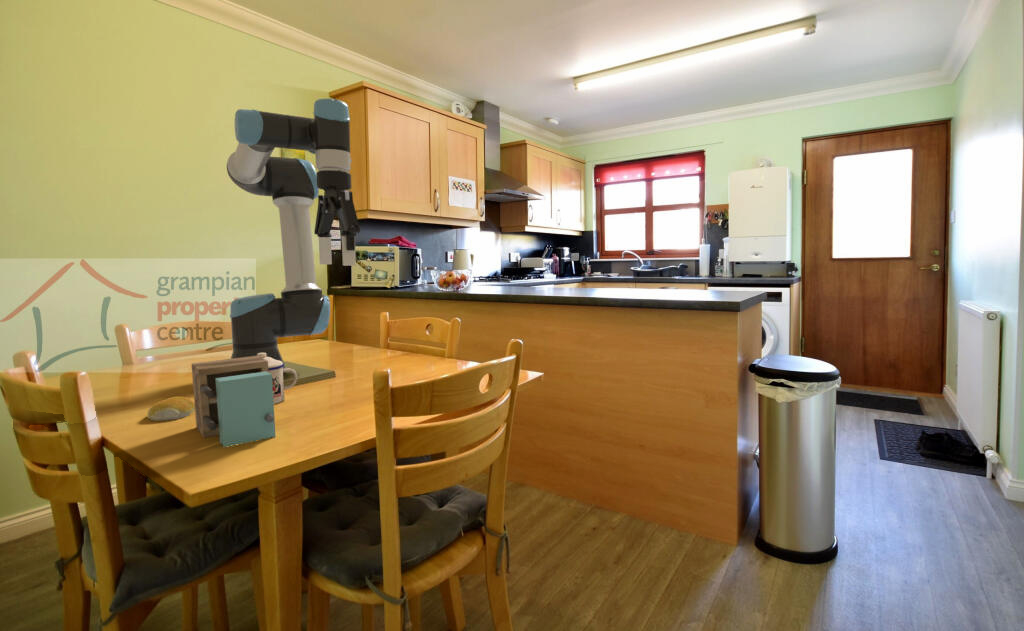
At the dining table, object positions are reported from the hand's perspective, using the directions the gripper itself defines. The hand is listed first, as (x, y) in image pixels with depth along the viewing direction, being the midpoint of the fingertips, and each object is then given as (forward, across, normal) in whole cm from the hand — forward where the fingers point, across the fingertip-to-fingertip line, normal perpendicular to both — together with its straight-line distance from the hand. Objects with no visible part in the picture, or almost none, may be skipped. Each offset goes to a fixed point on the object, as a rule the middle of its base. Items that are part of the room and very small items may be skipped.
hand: (337, 265), depth 121 cm
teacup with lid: (+32, +9, +14) cm, 36 cm away
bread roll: (+33, +12, +33) cm, 48 cm away
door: (+32, -17, +25) cm, 44 cm away
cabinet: (+32, -9, +25) cm, 41 cm away
